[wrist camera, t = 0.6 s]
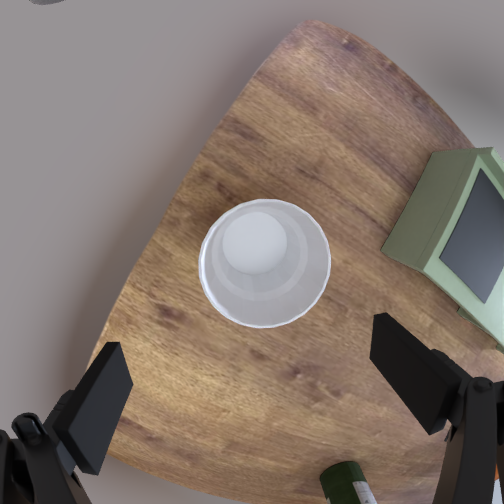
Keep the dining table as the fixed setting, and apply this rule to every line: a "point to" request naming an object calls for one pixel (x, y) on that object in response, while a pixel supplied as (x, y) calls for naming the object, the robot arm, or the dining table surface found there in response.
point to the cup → (264, 263)
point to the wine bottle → (346, 485)
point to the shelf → (458, 233)
